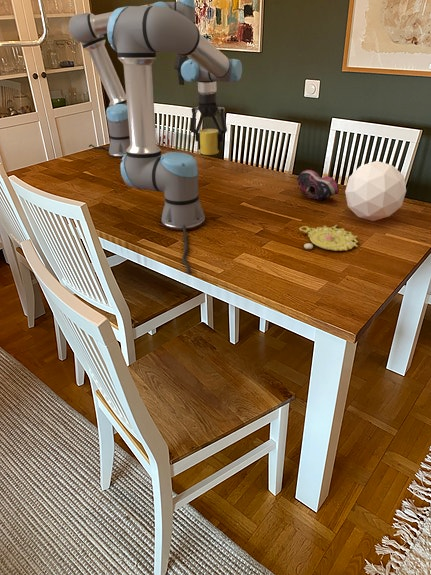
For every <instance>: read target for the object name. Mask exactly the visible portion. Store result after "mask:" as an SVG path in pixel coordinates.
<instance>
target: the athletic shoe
mask: <svg viewBox="0 0 431 575" xmlns="http://www.w3.org/2000/svg"><path fill="white" fill-rule="evenodd" d="M296 181H297V184H298V187H297V186H296V187H294V189H296V190H299V191H302V194H303V195H304V196H306V197H307V198H308V199H311V200H318V201H322V200H324V199H327V198H330V197H333V196H335V195H336V196H337V195H338V194H339V193H340V190H339V189H340V188H339V185H338V183H337V180H336V179H335V178H334V177H331V176H324V177H321V176H320V173H318V172H317V171H316V170H313V169H305V170H303V171H301V173H299V174H298V175H297V177H296Z"/></svg>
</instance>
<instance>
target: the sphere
mask: <svg viewBox="0 0 431 575" xmlns="http://www.w3.org/2000/svg"><path fill="white" fill-rule="evenodd" d="M347 180H348V181H347V184H346V187H345V191H344V193H345V200H346V205H347V208H349V209H350V210H351V212H353V213H354V214H355V216H356V217H358V218H360V219H364V220H368V221H371V222H375V221H379V220H382V219H385V218H388V217H390V216H392V215H393V214H394V213H395V212H396V211H398V210H399V209H400V208H402V206H403V203H404V200H405V196H406V193H407V187H406V182H405V176H404V174H403V173H402V172H401V171H399V170H398V169H397V168H396V167H395V166H394V165H393V164H390V163H386V162H382V161H378V160H375V161H372V162H367V163H365V164H362V165H359V166H358V167H357V169H355V171H354V172H352V174H351V175H349V177H348V179H347Z"/></svg>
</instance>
